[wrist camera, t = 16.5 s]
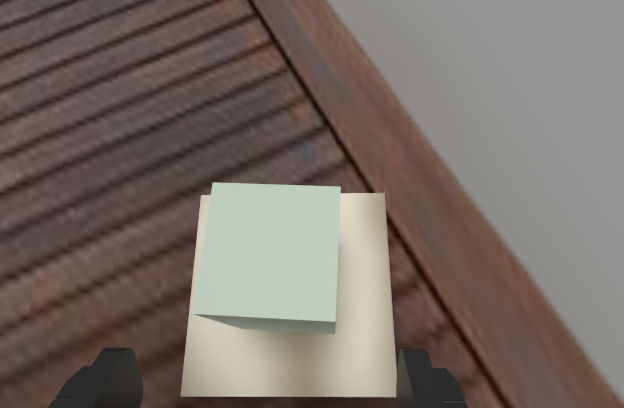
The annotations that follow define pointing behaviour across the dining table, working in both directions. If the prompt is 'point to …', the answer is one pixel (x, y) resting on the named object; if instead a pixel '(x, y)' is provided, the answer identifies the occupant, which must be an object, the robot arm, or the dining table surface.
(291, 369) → the birch block
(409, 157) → the dining table surface
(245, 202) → the sage block
